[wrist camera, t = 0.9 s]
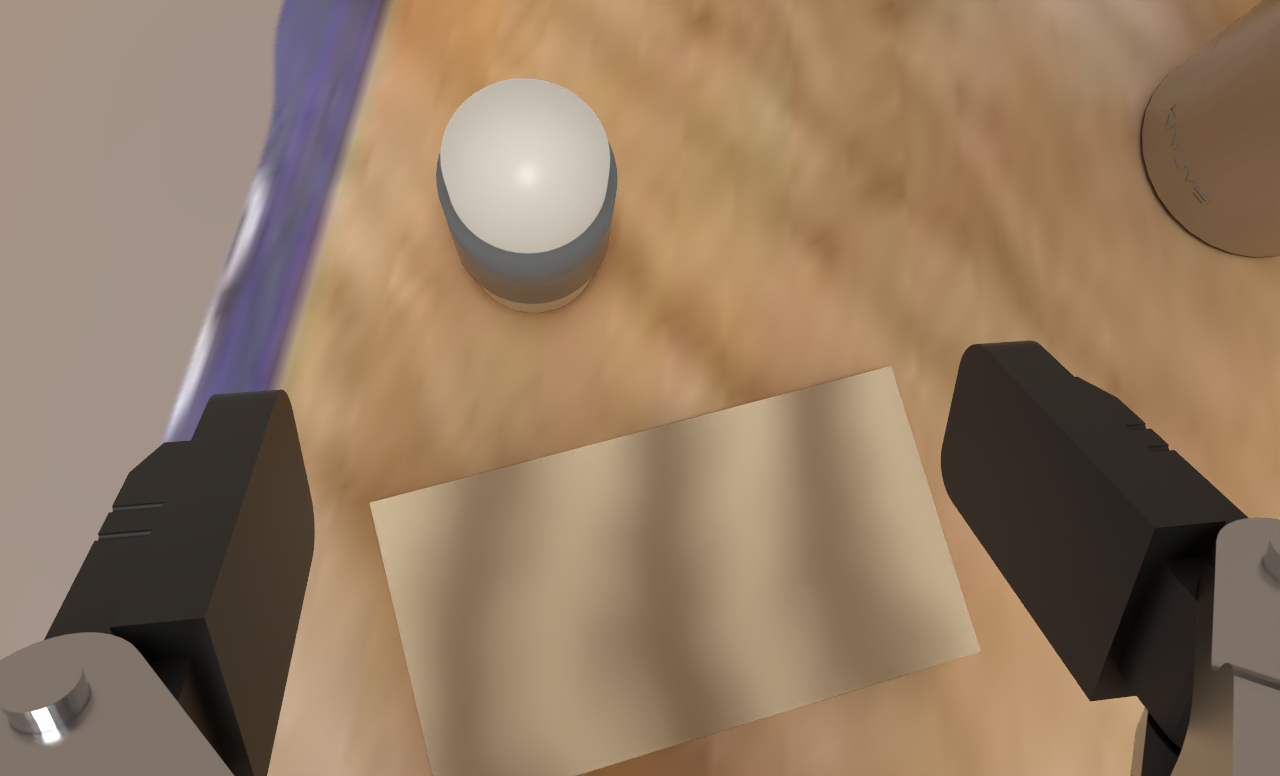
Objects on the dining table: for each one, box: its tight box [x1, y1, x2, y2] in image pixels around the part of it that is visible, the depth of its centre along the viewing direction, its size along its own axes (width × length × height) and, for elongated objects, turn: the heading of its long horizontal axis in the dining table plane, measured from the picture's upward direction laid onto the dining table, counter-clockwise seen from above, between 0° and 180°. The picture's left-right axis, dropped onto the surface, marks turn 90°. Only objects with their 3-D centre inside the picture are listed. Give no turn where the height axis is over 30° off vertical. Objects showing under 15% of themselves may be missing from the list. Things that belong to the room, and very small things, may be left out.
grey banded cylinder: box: [436, 78, 617, 313], centre depth 33 cm, size 6×6×9 cm
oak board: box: [370, 366, 981, 776], centre depth 35 cm, size 20×11×1 cm, turn 105°
